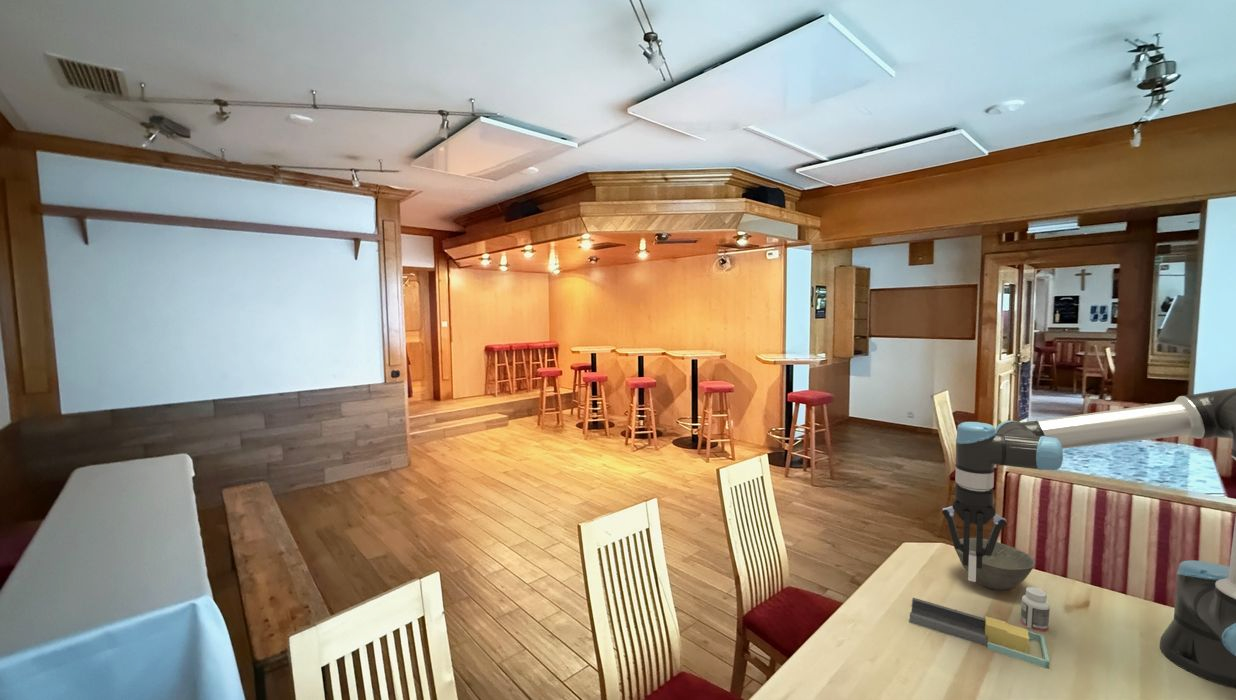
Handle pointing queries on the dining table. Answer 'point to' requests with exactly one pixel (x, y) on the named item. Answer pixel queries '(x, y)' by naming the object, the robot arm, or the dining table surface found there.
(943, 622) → the slot rail
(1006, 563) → the bowl
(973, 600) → the dining table surface
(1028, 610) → the pill bottle
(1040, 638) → the tray
